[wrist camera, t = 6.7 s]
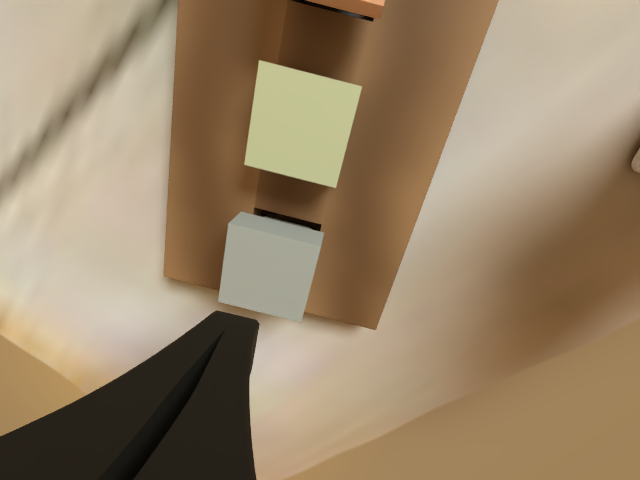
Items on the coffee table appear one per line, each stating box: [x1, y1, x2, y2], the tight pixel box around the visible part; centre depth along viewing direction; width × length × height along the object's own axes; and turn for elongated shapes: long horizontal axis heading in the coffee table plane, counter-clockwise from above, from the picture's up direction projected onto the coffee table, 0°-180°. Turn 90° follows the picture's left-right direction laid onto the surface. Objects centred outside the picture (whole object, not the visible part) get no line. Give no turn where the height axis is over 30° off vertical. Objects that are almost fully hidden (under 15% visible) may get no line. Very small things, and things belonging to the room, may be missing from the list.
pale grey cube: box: [218, 212, 324, 323], centre depth 15 cm, size 4×4×4 cm
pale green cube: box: [244, 60, 362, 188], centre depth 14 cm, size 4×4×4 cm
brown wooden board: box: [164, 0, 499, 330], centre depth 14 cm, size 12×25×2 cm, turn 167°
